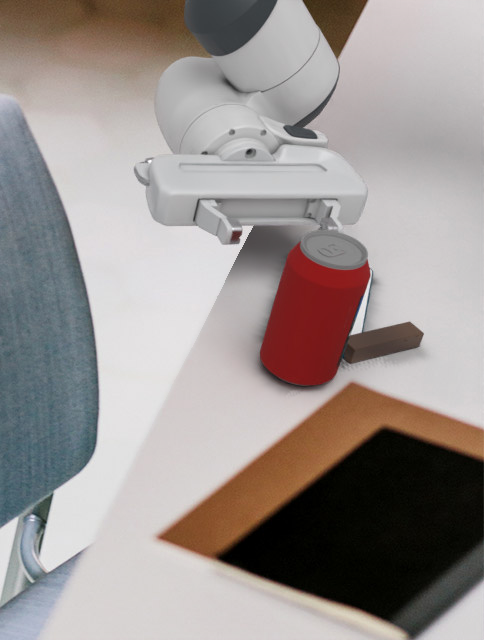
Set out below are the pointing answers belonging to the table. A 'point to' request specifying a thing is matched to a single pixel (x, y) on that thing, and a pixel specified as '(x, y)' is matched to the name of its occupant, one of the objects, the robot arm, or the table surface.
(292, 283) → the beverage can
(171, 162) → the robot arm
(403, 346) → the walnut stick
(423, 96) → the table surface
